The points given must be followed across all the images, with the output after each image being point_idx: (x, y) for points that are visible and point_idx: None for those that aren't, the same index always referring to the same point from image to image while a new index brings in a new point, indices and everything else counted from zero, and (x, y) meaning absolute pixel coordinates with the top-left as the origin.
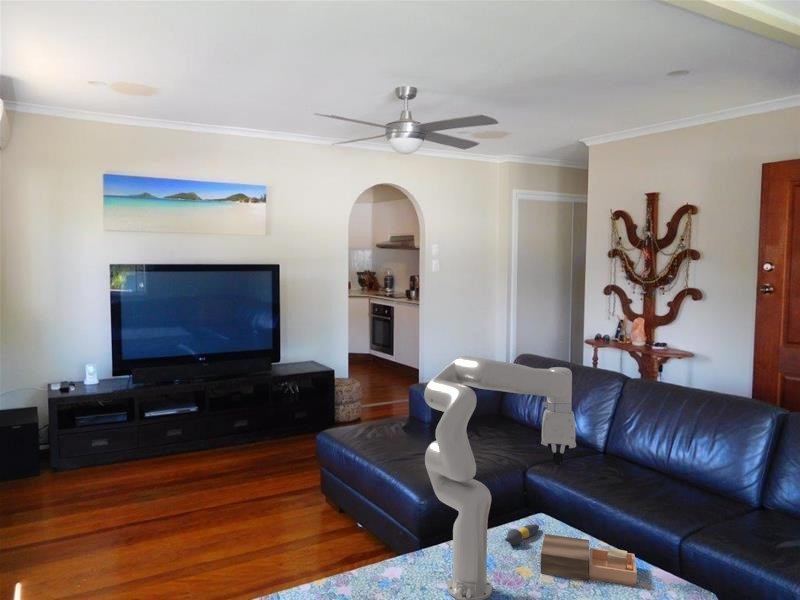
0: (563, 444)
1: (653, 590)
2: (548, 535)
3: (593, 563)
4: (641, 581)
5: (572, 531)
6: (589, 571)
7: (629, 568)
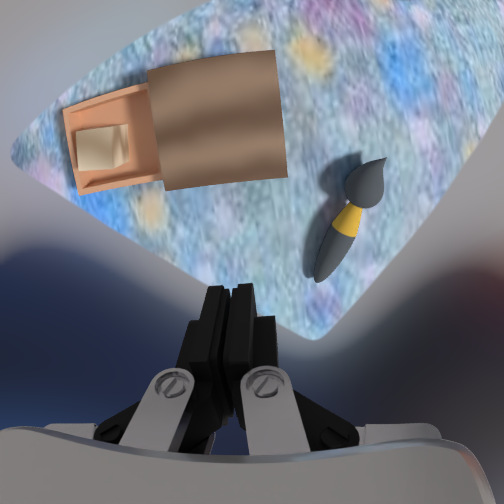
0: (102, 443)
1: (54, 112)
2: (275, 170)
3: None
4: None
5: None
6: None
7: None
